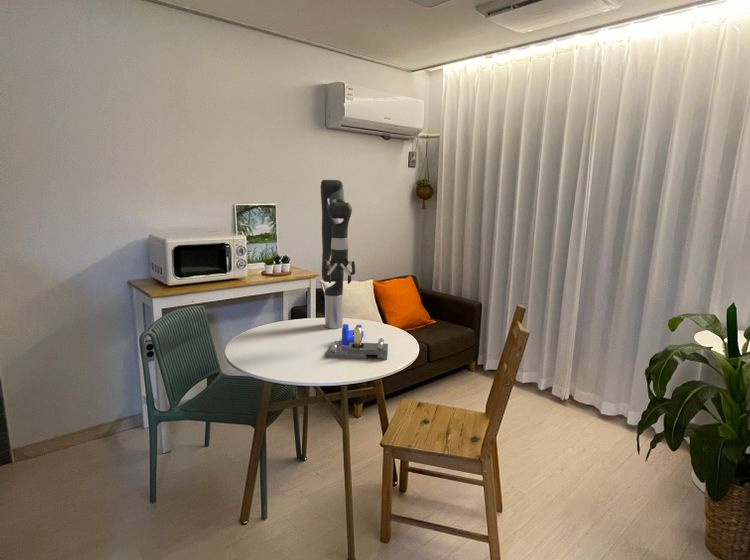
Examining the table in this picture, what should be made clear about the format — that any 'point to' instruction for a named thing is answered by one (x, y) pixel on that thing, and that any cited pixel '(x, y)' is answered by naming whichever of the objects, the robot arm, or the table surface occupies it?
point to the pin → (357, 337)
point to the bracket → (349, 334)
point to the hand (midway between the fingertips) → (339, 283)
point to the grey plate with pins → (358, 350)
